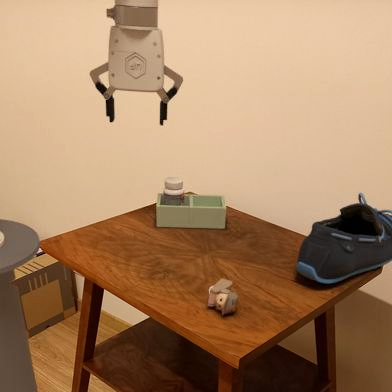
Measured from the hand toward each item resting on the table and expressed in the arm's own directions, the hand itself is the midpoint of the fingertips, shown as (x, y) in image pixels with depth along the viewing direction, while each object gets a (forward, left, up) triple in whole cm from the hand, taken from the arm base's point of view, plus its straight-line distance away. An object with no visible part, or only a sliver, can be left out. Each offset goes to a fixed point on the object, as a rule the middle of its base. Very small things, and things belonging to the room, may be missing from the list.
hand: (136, 122), depth 100 cm
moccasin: (+43, -12, -22) cm, 50 cm away
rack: (+11, +6, -22) cm, 26 cm away
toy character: (+13, -30, -20) cm, 39 cm away
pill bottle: (+7, +6, -22) cm, 23 cm away
